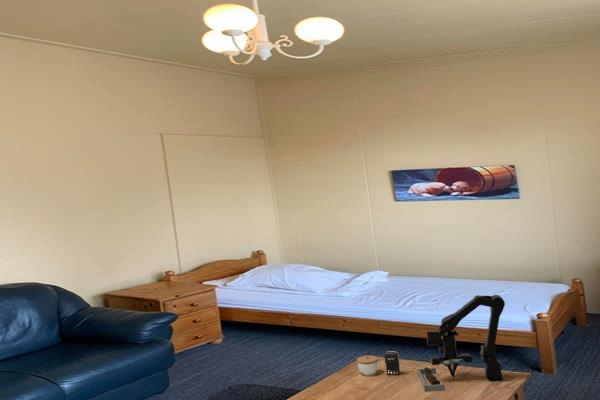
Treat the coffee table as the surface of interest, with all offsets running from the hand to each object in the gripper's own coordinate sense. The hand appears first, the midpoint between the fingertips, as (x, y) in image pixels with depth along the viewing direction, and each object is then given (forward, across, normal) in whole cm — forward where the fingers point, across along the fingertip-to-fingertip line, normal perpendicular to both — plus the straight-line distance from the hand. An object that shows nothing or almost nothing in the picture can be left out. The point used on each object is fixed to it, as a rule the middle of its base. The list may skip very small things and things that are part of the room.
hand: (452, 376), depth 280 cm
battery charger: (+2, +27, -14) cm, 30 cm away
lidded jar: (+2, +39, -18) cm, 43 cm away
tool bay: (+2, +10, 0) cm, 10 cm away
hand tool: (+2, +11, -1) cm, 11 cm away
